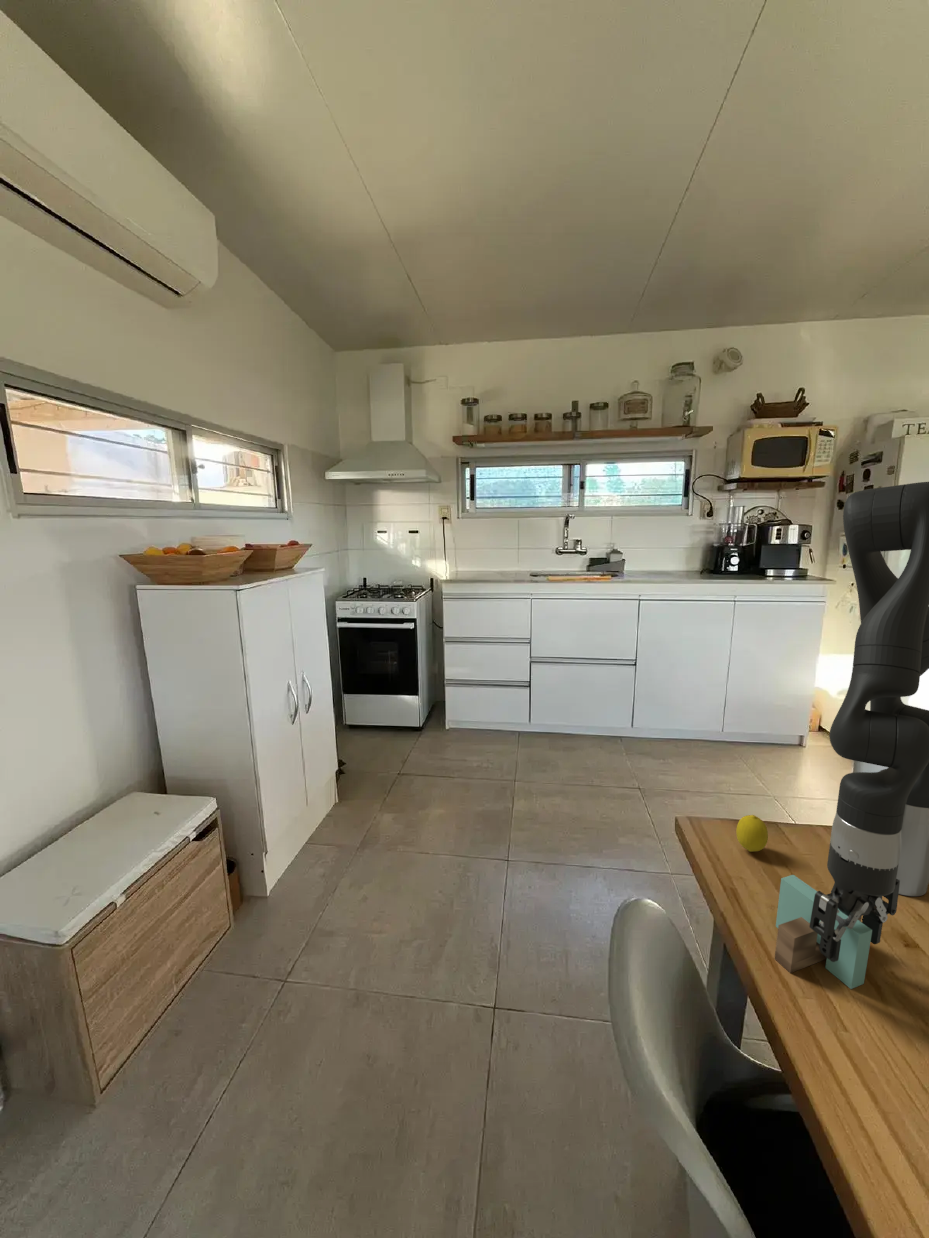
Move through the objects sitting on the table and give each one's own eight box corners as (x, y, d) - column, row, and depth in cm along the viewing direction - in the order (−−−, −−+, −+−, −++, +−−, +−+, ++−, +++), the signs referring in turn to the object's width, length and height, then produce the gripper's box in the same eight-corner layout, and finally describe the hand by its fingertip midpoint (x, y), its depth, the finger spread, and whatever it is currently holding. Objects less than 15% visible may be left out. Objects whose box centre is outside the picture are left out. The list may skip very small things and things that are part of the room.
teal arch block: (775, 926, 82) (781, 878, 81) (787, 922, 83) (793, 874, 82) (850, 989, 71) (859, 934, 70) (863, 983, 72) (872, 929, 70)
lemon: (770, 861, 98) (774, 824, 96) (739, 858, 99) (743, 821, 98) (760, 844, 103) (763, 809, 102) (731, 841, 104) (734, 806, 103)
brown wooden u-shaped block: (839, 934, 81) (844, 901, 80) (856, 946, 78) (861, 913, 77) (774, 958, 76) (778, 924, 75) (790, 973, 74) (794, 938, 73)
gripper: (869, 822, 75) (856, 915, 78) (800, 844, 71) (789, 942, 74) (929, 853, 68) (911, 954, 71) (856, 879, 64) (841, 985, 67)
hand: (849, 947), depth 73 cm, fingers open, 8 cm apart
